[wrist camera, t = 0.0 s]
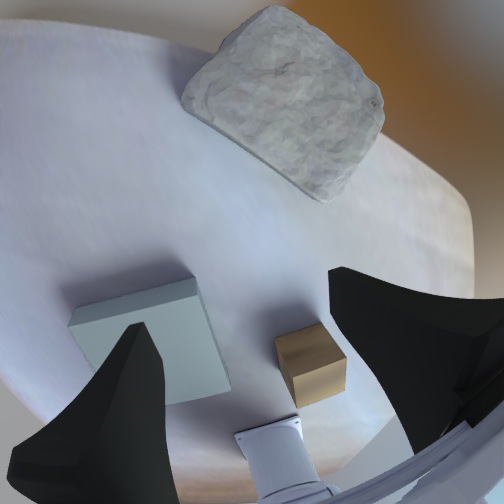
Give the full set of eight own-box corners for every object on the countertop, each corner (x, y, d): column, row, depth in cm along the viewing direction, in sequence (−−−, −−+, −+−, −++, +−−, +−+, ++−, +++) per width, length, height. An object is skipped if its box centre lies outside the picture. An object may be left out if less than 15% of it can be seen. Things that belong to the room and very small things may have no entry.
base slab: (226, 366, 25) (232, 390, 23) (127, 388, 24) (125, 412, 21) (195, 274, 21) (197, 294, 19) (77, 305, 20) (67, 327, 17)
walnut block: (322, 355, 27) (344, 390, 23) (279, 370, 27) (297, 408, 22) (321, 322, 25) (346, 357, 21) (273, 337, 25) (292, 377, 20)
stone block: (246, 15, 16) (165, 116, 16) (274, -17, 12) (174, 94, 12) (360, 108, 21) (308, 208, 21) (403, 99, 17) (349, 217, 17)
